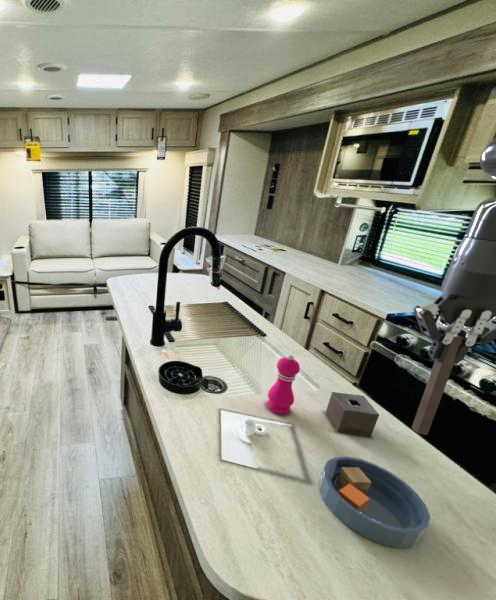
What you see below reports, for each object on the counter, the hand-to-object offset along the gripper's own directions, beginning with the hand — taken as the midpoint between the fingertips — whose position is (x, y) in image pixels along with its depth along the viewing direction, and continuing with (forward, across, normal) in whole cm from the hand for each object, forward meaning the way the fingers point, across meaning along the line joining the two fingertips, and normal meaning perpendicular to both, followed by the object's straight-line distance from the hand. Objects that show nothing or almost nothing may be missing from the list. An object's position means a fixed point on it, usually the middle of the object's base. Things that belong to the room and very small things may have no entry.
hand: (443, 360), depth 55 cm
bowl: (+39, -2, 0) cm, 39 cm away
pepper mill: (+39, -12, +31) cm, 51 cm away
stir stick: (+15, 0, -2) cm, 15 cm away
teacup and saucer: (+39, -21, +15) cm, 47 cm away
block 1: (+38, -3, +4) cm, 39 cm away
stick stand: (+39, +6, +28) cm, 48 cm away
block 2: (+38, -6, -2) cm, 39 cm away
